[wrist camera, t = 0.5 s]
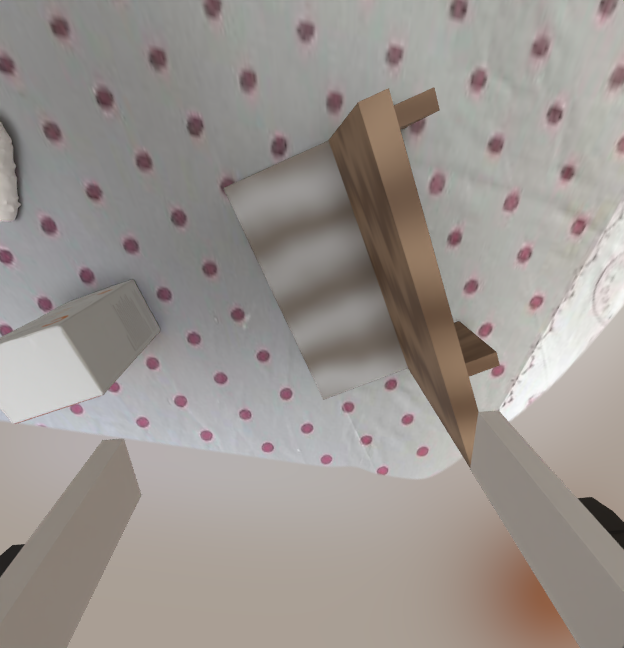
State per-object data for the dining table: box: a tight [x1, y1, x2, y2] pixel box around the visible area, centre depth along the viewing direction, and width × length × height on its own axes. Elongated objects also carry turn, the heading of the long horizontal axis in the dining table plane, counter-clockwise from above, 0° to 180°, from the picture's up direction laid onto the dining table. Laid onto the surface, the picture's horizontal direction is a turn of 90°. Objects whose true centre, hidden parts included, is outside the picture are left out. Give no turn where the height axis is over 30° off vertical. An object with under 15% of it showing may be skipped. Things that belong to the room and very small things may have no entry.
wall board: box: [224, 88, 499, 467], centre depth 29 cm, size 24×18×18 cm
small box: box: [0, 280, 160, 424], centre depth 32 cm, size 8×6×13 cm
